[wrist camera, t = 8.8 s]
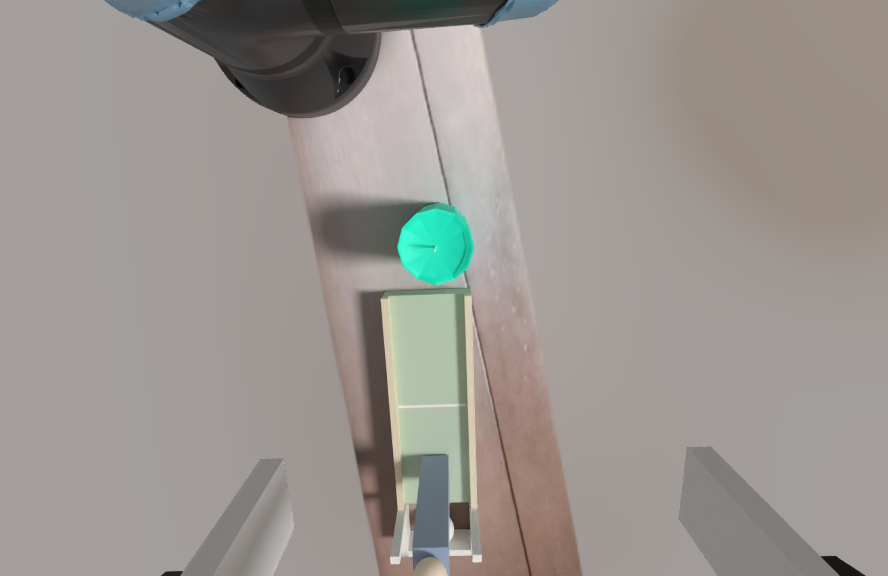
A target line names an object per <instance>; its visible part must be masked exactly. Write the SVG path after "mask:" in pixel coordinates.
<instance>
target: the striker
mask: <svg viewBox="0 0 888 576" xmlns="http://www.w3.org/2000/svg"><path fill="white" fill-rule="evenodd" d="M449 512H450V478H449V456H448V455H438V456H422V457H421V466H420V476H419V486H418V495H417V505H416V515H415V524H414V534H413V543H412V555H413V568H414V572H413V576H449Z"/></svg>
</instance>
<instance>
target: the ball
mask: <svg viewBox="0 0 888 576" xmlns="http://www.w3.org/2000/svg"><path fill="white" fill-rule="evenodd" d="M453 534H454V525H453V522H452V520H451V518H450V517H449V542H450V541H451V539H452V537H453Z"/></svg>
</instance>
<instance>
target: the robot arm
mask: <svg viewBox="0 0 888 576" xmlns="http://www.w3.org/2000/svg"><path fill="white" fill-rule="evenodd" d="M105 1H106V2H107V3H108V4H110V5H111V6H112V7H114V8H115V9H117V10H119V11H120V12H122V13H125V14H128V15H129V16H131V17H132V18H134V17H137V18H139V19H140V20H144V21H146V22H148V23H150V24H151V25H153V26H155V27H158V28H159V29H161V30H163V31H165V32H167V33H169V34H170V35H172V36H174V37H176V38H178V39H180V40H182V41H184V42H186V43H187V44H189V45H191V46H193V47H195V48H197V49H199V50H201V51H203V52H205V53H206V54H208V55H210V56H212V57H214V59H215V60H216V62H217V63H218V65H219V66H220V68H221V70H222V71H223V72H224V74H225V75H226V76H227V78H228V79H229V80H230V81H231V82H232V83H233V84H234V85H235V86H236V88H238V89H239V90H240V91H241V92H242V93H243V94H245V95H246V96H247V97H248V98H250V99H251V100H253V101H254V102H256V103H258V104H259V105H262V106H263V107H265V108H268V109H270V110H273V111H275V112H277V113H280V114H283V115H287V116H291V117H299V118H311V117H319V116H323V115H327V114H330V113H332V112H334V111H337V110H339V109H340V108H342V107H344V106H345V105H347V104H348V103H349V102H351V101H352V100H353V99H354V98H355V97H356V96H357V95H358V94H359V93H360V92H361V91H362V89H363V88H364V87H365V85H366V84H367V82H368V80H369V79H370V77H371V75H372V73H373V71H374V68H375V66H376V63H377V59H378V55H379V51H380V44H381V32H386V31H399V30H411V29H423V28H436V27H448V26H460V25H474V26H475V27H479V28H484V27H488V26H489V25H494V24H495V23H497V22H499V21H506V20H512V19H521V18H528V17H533V16H536V15H538V14H539V13H541V12H543V11H545V10H547V9H548V8H549V7H551V6H552V5H554V4H555V3H556V2H557V1H558V0H105ZM679 520H680V521H681V523H682V524H683V526H684V527H685V529H686V530H687V532H688V533H689V535H690V536H691V538H692V539H693V540H694V542H695V543H696V545H697V546H698V548H699V549H700V551H701V552H702V554H703V555H704V557H705V558H706V559H707V561H708V562H709V564H710V565H711V567H712V568H713V570H714V571H715V573H716V574H717V575H718V576H865V575H864V574H862V573H860V572H859V571H858V570H856V569H854V568H853V567H852V566H850V565H848V564H847V563H845V562H844V561H842V560H841V559H839V558H838V557H836V556H819V555H818V554H817V553H816V552H815V551H814V550H813V549H812V548H811V547H810V546H809V545H808V544H807V543H806V542H805V541H804V540H803V539H802V538H801V537H800V536H799V535H798V534H797V533H796V532H795V531H794V530H793V529H792V528H791V527H790V526H789V525H788V524H787V522H786V521H784V519H783V518H781V517H780V516H779V514H778V513H777V512H775V511H774V509H773V508H771V507H770V505H769V504H768V503H767V502H766V501H765V500H764V499H762V497H761V496H760V495H759V494H758V493H757V492H756V491H754V490H753V488H752V487H751V486H749V485H748V483H747V482H746V481H745V480H744V479H743V478H742V477H741V476H740V475H738V473H737V472H736V471H735V470H734V469H733V468H732V467H731V466H730V465H729V464H728V463H727V462H726V461H725V460H724V459H723V458H722V457H721V456H720V455H719V454H718V453H717V452H716V451H715V450H714V449H713V448H712V447H687V451H686V460H685V468H684V478H683V485H682V494H681V502H680V511H679ZM293 530H294V523H293V516H292V509H291V503H290V497H289V490H288V484H287V477H286V471H285V465H284V459H260V461H259V462H258V464H257V465H256V467H255V468H254V469H253V471H252V472H251V474H250V475H249V477H248V478H247V480H246V481H245V482H244V484H243V485H242V487H241V488H240V490H239V491H238V493H237V494H236V496H235V497H234V498H233V500H232V501H231V503H230V504H229V506H228V507H227V509H226V510H225V512H224V513H223V514H222V516H221V517H220V519H219V520H218V522H217V523H216V525H215V526H214V528H213V529H212V531H211V532H210V534H209V535H208V536H207V538H206V539H205V541H204V542H203V544H202V545H201V546H200V548H199V549H198V551H197V552H196V554H195V555H194V557H193V558H192V560H191V561H190V562H189V564H188V565H187V567H186V568H185V570H184V571H173V572H171V571H170V572H165V573H164V574H163V575H161V576H273V574H274V572H275V570H276V567H277V565H278V563H279V561H280V558H281V556H282V554H283V552H284V549H285V547H286V545H287V543H288V541H289V538H290V536H291V534H292V532H293Z"/></svg>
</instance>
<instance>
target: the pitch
mask: <svg viewBox="0 0 888 576" xmlns="http://www.w3.org/2000/svg"><path fill="white" fill-rule="evenodd" d="M381 309H382V322H383V334H384V346H385V358H386V370H387V383H388V395H389V407H390V419H391V431H392V444H393V456H394V468H395V480H396V493H397V505H398V511H401V510H404V508H405V504H417V495H418V486H419V476H420V466H421V457H422V456H438V455H448V456H449V478H450V503H457V502H471V509H477V483H476V445H475V407H474V369H473V330H472V295H471V290H470V288H461V289H434V290H407V291H385V293H384V294H383V296H382V297H381Z"/></svg>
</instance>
